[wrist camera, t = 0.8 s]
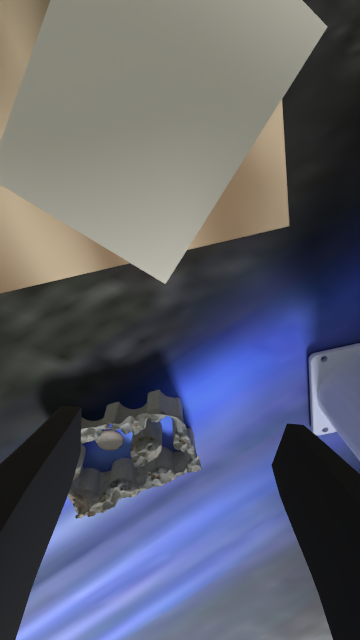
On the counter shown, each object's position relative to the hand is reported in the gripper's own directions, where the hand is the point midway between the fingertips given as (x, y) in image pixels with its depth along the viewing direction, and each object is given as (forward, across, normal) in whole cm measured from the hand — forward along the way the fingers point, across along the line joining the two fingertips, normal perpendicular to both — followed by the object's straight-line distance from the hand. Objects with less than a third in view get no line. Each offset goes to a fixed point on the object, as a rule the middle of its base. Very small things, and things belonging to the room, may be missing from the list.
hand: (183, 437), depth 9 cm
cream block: (+10, +2, -9) cm, 13 cm away
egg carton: (+11, +2, +10) cm, 15 cm away
